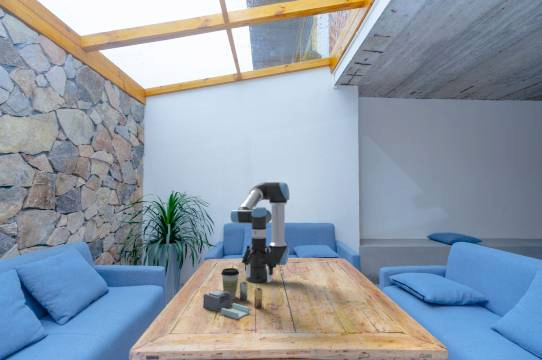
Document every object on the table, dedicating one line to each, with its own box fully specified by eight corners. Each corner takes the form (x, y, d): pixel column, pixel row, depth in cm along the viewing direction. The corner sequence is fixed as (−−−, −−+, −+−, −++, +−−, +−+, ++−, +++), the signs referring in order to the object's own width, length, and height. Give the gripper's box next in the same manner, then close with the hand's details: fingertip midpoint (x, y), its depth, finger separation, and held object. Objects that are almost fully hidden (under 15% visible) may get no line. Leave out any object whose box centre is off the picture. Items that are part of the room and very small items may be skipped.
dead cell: (243, 298, 172) (243, 280, 173) (248, 299, 170) (248, 281, 170) (238, 300, 169) (238, 282, 169) (244, 301, 167) (244, 283, 167)
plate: (217, 292, 164) (217, 289, 164) (225, 295, 161) (225, 292, 161) (209, 295, 159) (209, 292, 160) (217, 298, 156) (217, 295, 156)
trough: (233, 308, 157) (233, 303, 157) (249, 313, 151) (249, 307, 151) (221, 314, 150) (221, 308, 150) (237, 319, 144) (237, 313, 144)
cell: (257, 305, 162) (257, 286, 162) (263, 307, 159) (264, 287, 160) (252, 307, 158) (253, 288, 159) (259, 309, 156) (259, 290, 156)
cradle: (217, 301, 167) (217, 289, 167) (231, 305, 161) (231, 292, 162) (203, 307, 159) (203, 294, 159) (217, 311, 153) (217, 298, 153)
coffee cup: (222, 300, 168) (222, 272, 168) (220, 295, 177) (220, 268, 178) (240, 299, 170) (240, 271, 171) (237, 293, 180) (237, 267, 180)
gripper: (235, 236, 164) (235, 276, 163) (275, 240, 150) (274, 285, 149) (244, 234, 170) (244, 274, 169) (283, 238, 156) (283, 281, 155)
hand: (258, 279), depth 159 cm, fingers open, 13 cm apart
